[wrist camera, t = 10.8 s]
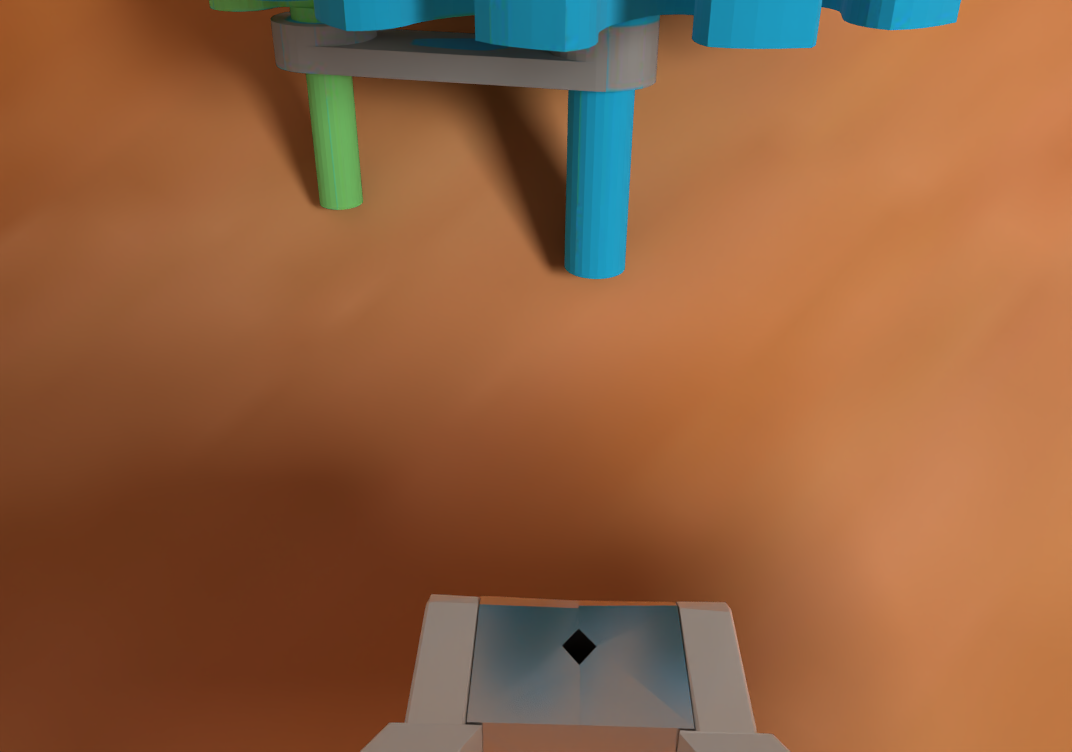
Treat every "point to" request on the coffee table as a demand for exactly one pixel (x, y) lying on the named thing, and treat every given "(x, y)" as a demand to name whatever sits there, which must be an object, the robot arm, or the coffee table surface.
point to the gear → (537, 75)
